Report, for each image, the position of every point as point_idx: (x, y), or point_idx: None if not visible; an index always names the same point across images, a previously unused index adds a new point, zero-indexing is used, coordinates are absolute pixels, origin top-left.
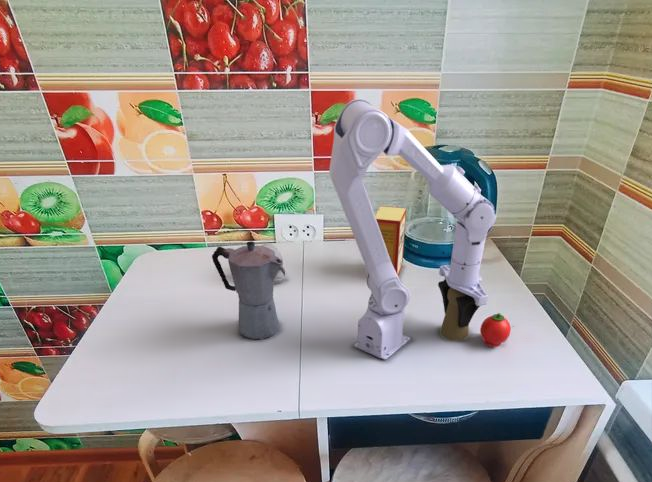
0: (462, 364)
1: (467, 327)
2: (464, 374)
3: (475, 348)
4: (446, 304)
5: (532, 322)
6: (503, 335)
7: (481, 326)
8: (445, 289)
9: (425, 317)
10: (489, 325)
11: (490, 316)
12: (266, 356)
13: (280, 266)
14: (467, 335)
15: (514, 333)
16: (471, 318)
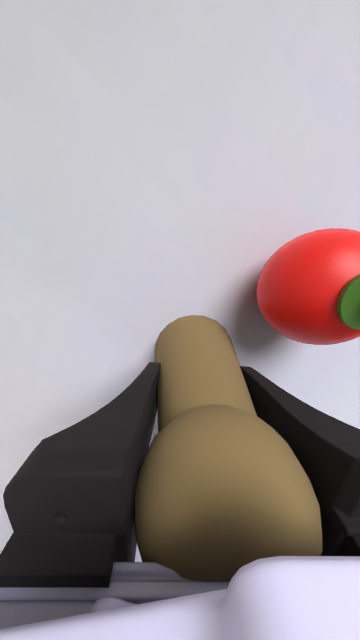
0: (305, 402)
1: (233, 350)
2: (331, 415)
3: (278, 343)
4: (151, 430)
5: (285, 12)
6: None
7: (286, 336)
8: (135, 549)
9: (91, 375)
10: (341, 342)
11: (317, 311)
12: None
13: None
14: (227, 334)
15: (294, 175)
16: (269, 381)
